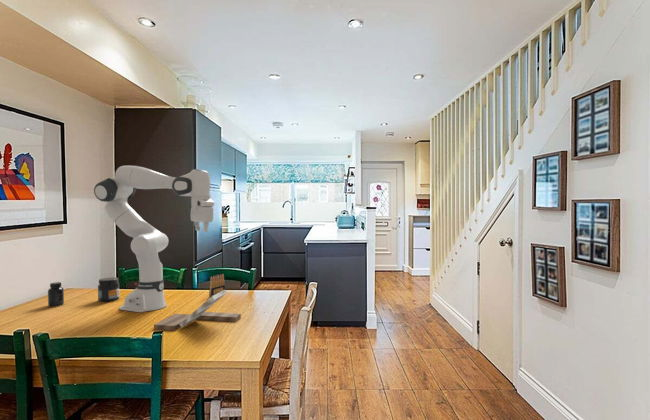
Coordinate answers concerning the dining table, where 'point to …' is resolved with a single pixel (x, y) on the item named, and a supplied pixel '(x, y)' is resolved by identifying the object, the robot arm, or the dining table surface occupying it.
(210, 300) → the ash plank
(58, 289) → the supplement bottle
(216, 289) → the ammunition clip
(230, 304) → the dining table surface
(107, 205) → the robot arm
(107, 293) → the supplement container
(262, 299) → the dining table surface
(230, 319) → the walnut boards
